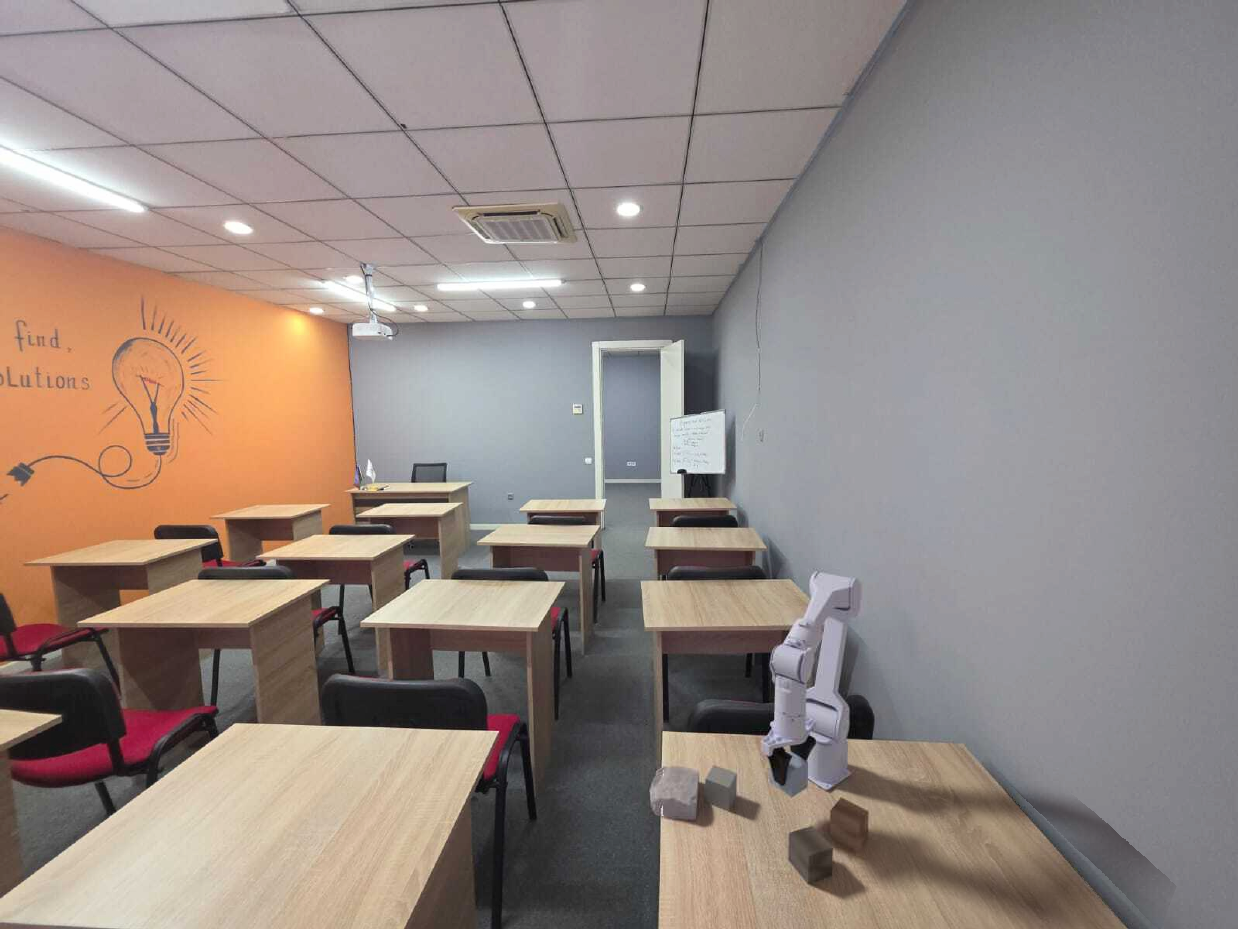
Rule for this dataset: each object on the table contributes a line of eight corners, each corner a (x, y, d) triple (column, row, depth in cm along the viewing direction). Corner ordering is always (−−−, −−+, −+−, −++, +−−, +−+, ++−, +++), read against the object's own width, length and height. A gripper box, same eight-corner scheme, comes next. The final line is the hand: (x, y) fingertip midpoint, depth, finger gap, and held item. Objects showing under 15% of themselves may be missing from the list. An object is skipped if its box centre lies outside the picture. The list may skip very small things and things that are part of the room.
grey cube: (713, 787, 103) (713, 764, 103) (736, 796, 101) (736, 773, 100) (704, 802, 99) (705, 778, 99) (728, 812, 96) (729, 787, 96)
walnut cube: (840, 822, 94) (841, 797, 94) (867, 837, 91) (868, 811, 90) (829, 836, 91) (830, 810, 90) (857, 852, 87) (858, 826, 87)
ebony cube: (811, 852, 87) (812, 825, 87) (832, 876, 82) (832, 847, 82) (788, 860, 85) (788, 833, 85) (808, 884, 81) (808, 856, 80)
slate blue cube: (785, 772, 98) (786, 748, 98) (807, 787, 94) (808, 762, 93) (769, 782, 95) (770, 757, 95) (791, 797, 91) (792, 772, 91)
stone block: (650, 826, 95) (700, 823, 93) (645, 801, 95) (696, 798, 93) (657, 786, 107) (702, 783, 105) (652, 764, 107) (698, 761, 105)
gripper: (795, 689, 101) (794, 752, 102) (748, 710, 93) (747, 779, 94) (826, 704, 95) (824, 771, 96) (779, 729, 87) (777, 802, 88)
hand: (788, 777), depth 94 cm, fingers closed on slate blue cube, 5 cm apart
